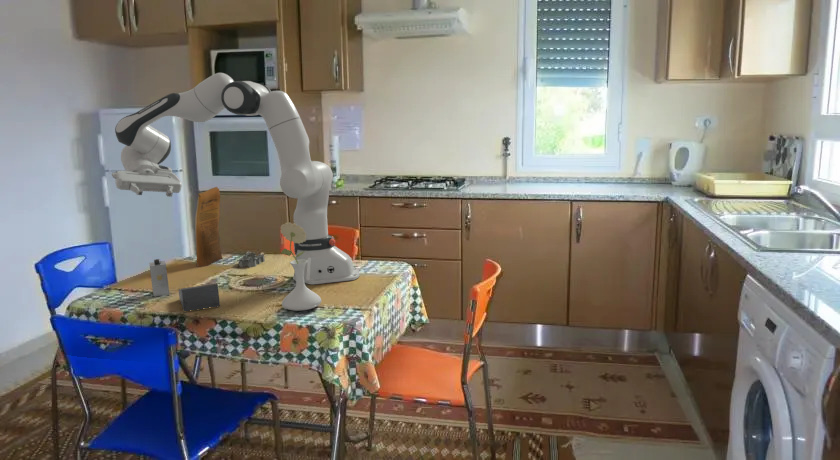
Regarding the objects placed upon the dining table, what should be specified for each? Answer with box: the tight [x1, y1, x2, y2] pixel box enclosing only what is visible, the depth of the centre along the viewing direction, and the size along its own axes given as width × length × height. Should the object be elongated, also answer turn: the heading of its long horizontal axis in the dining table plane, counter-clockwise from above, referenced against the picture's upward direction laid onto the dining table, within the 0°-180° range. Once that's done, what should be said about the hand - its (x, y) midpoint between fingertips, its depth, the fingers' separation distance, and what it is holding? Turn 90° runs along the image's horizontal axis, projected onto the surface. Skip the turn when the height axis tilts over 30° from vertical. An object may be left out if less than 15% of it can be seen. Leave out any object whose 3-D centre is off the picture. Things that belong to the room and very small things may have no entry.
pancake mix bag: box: [194, 186, 223, 268], centre depth 238 cm, size 7×19×28 cm, turn 168°
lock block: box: [149, 258, 170, 298], centre depth 200 cm, size 6×5×11 cm
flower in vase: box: [280, 222, 323, 312], centre depth 181 cm, size 13×11×25 cm
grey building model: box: [236, 250, 266, 268], centre depth 236 cm, size 11×8×4 cm
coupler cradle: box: [178, 283, 221, 312], centre depth 190 cm, size 14×10×7 cm
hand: (155, 193), depth 203 cm, fingers open, 8 cm apart
